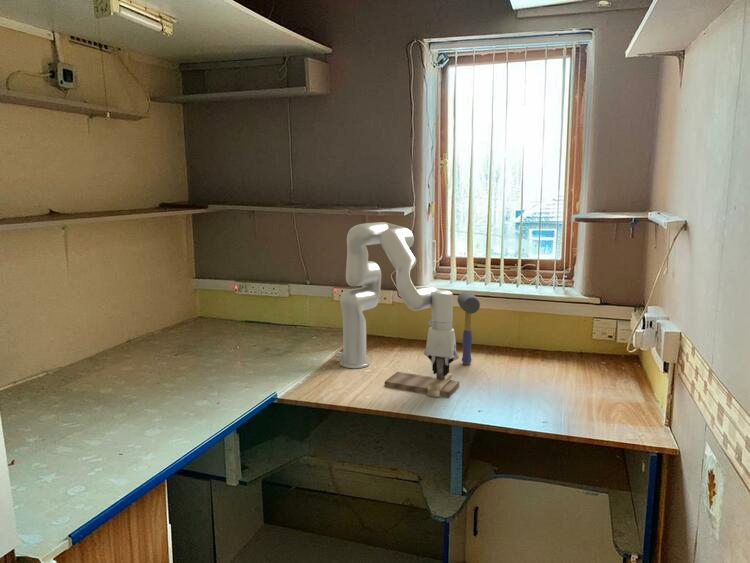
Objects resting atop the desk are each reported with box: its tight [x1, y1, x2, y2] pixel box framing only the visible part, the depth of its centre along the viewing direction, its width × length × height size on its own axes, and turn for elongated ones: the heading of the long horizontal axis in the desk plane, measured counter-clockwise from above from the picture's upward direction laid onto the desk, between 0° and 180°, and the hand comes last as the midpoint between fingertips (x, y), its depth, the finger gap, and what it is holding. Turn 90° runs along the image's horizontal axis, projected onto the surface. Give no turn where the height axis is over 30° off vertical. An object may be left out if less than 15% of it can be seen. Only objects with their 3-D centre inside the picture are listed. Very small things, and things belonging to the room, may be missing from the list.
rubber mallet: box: [457, 291, 481, 365], centre depth 236 cm, size 12×8×30 cm, turn 4°
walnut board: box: [384, 371, 460, 398], centre depth 213 cm, size 25×12×2 cm, turn 65°
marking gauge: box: [427, 357, 453, 398], centre depth 208 cm, size 4×15×12 cm, turn 155°
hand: (440, 373), depth 209 cm, fingers closed on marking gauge, 3 cm apart
